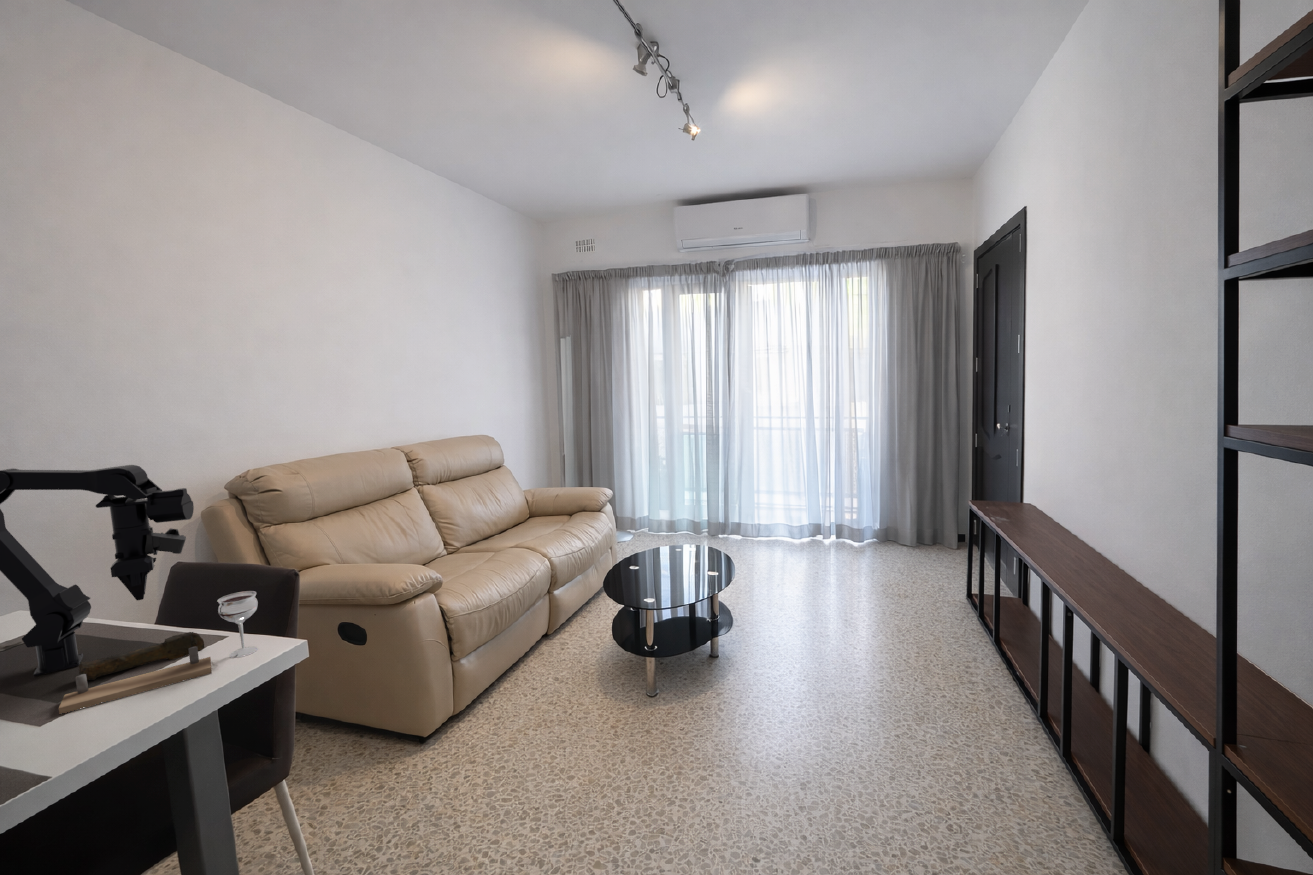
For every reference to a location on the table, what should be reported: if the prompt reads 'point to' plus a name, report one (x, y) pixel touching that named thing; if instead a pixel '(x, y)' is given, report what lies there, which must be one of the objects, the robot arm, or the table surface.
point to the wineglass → (239, 615)
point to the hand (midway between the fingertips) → (140, 597)
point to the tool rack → (134, 683)
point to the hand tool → (142, 655)
